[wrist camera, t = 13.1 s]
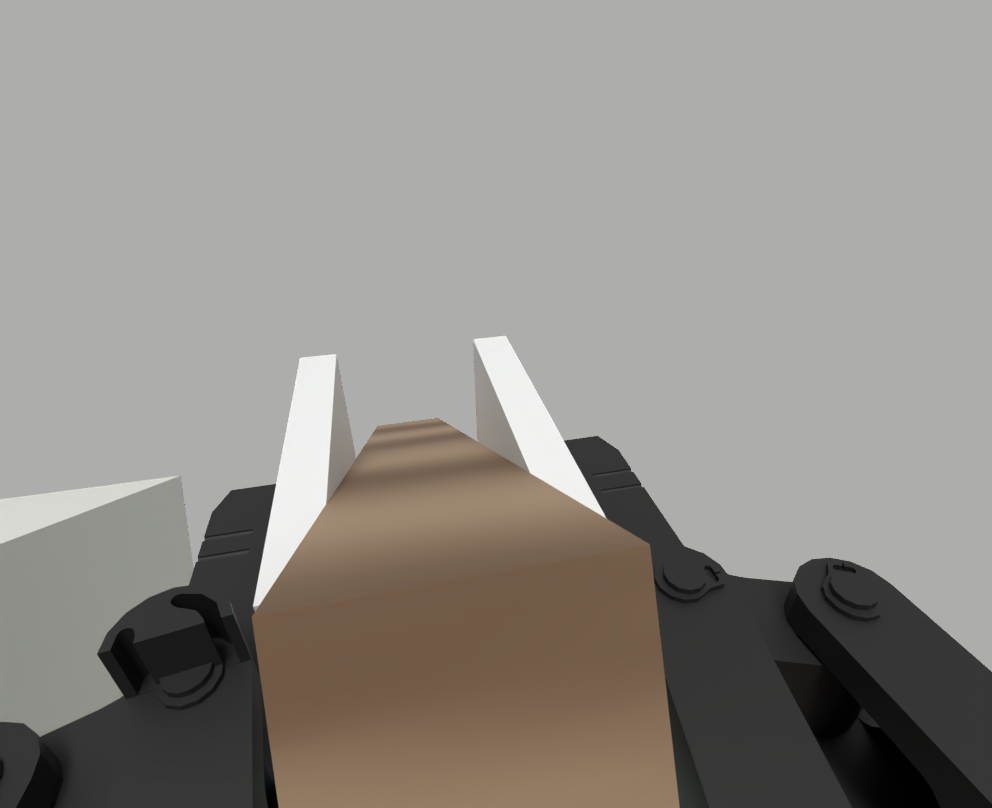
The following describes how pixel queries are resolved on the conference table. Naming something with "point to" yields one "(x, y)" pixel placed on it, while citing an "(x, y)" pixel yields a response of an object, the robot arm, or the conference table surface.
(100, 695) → the off-white rectangular block
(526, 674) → the walnut bar
